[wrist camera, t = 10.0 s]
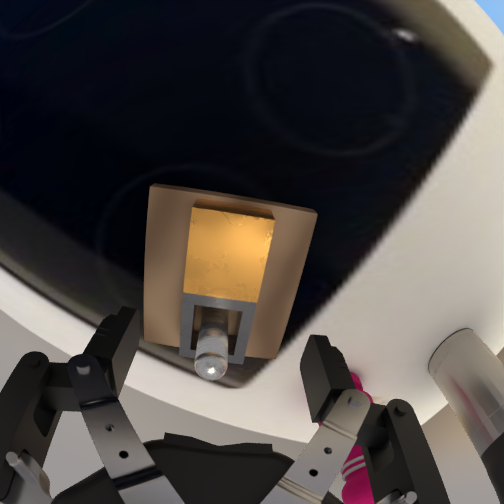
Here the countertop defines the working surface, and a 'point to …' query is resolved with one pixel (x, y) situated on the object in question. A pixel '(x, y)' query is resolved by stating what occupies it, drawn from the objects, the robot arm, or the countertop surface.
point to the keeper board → (174, 262)
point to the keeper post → (212, 343)
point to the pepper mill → (356, 470)
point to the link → (224, 268)
